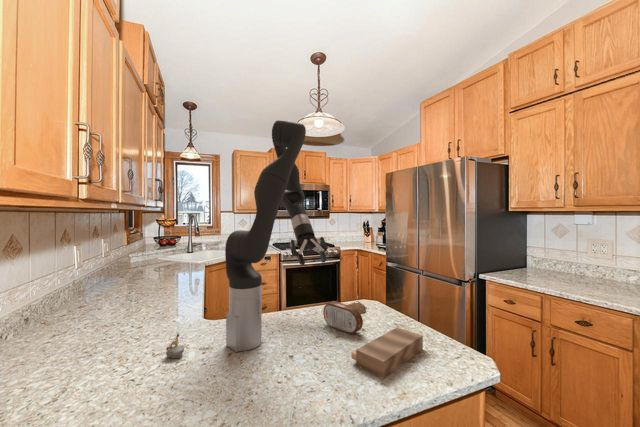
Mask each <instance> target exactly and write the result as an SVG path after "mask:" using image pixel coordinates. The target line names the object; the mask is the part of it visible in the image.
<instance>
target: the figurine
mask: <svg viewBox="0 0 640 427" xmlns="http://www.w3.org/2000/svg"><path fill="white" fill-rule="evenodd" d="M179 337H180V333H179V332H178V333H177V332H176V336H175V338H173V340H172V341H171V343H169V342H168V343H167V345H168V346H167V347H166V349H165V351H166V352H165V354H166V358H168V359H169V358H170V359H178V358H179V359H180V358H182V357H183V353H184V351H185V346H184V345H181V344H180V345H179Z"/></svg>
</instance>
